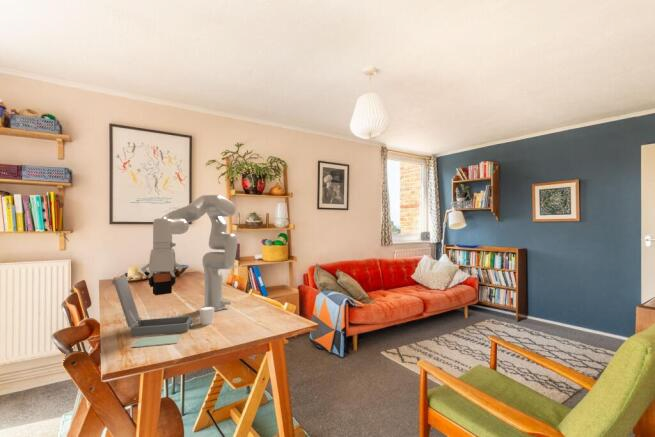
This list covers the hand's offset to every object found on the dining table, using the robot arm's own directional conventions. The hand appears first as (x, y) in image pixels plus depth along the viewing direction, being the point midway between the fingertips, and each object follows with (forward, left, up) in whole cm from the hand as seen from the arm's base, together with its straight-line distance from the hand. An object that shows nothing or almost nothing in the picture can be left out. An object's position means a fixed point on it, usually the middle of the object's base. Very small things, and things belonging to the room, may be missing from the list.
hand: (162, 285), depth 141 cm
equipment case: (0, -2, -20) cm, 20 cm away
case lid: (+14, -2, -6) cm, 15 cm away
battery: (0, 0, -4) cm, 4 cm away
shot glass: (-18, -7, -20) cm, 28 cm away
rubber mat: (-1, +13, -20) cm, 24 cm away
